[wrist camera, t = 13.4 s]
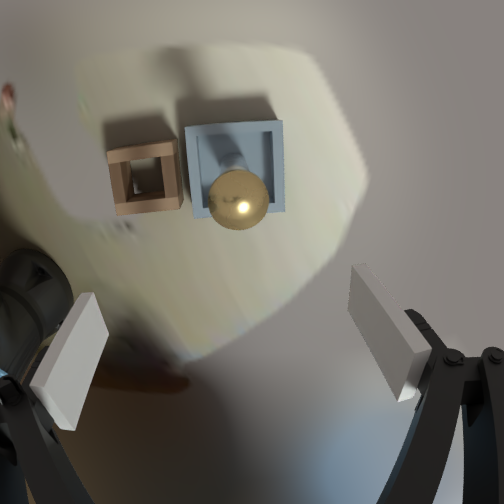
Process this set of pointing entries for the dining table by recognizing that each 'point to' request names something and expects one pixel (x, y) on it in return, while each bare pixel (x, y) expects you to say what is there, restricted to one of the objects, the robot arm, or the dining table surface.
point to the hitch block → (123, 180)
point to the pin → (237, 195)
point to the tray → (244, 143)
